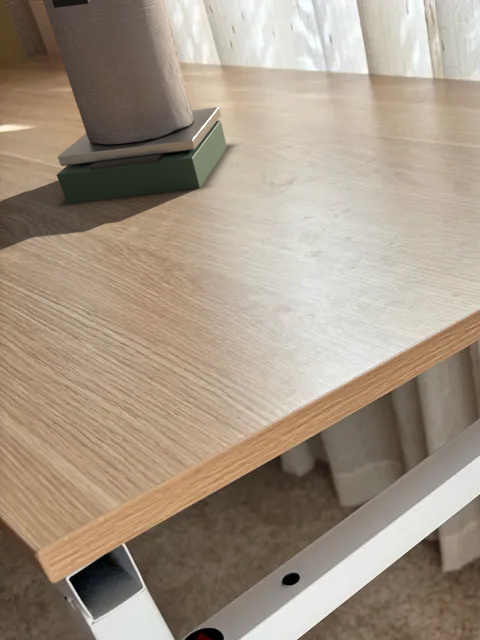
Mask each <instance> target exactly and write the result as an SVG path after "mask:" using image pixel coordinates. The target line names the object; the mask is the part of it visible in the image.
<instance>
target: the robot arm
mask: <svg viewBox="0 0 480 640" xmlns="http://www.w3.org/2000/svg"><path fill="white" fill-rule="evenodd" d="M52 2H53V5H54V8H59V7H67V6H75V5H83V4H89V3H91V0H52Z"/></svg>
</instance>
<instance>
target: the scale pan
mask: <svg viewBox="0 0 480 640" xmlns="http://www.w3.org/2000/svg"><path fill="white" fill-rule="evenodd" d="M220 110H221V109H220V107H219V106H217V107H216V106H215V107H207V108H199V109H192V114H193V122H192V124H190V125H189V126H186V127H184V128H181V129H178V130H175V131H173V132H171V133H169V134H167V135H163V136H161V137H158V138H154V139H147V140H144V141H136V142H130V143H123V144H99V143H92V142H90V141H89V139H88V137H87V134H86V133H84V134H83V135H82V136H81V137H79V139H77V140H76V141H75V142H73V143H72V144H71V145H70V146H69V147H68V148H66V149H65V150H63V152H61V153H60V154H59V155H58V156H57V160H58V162H59V165H60V166H61V167H66V166H67V165H74V164H82V163H90V162H99V161H107V160H115V159H123V158H131V157H139V156H147V155H156V154H164V153H172V152H180V151H188V150H195V148H196V147H197V146H198V145H199V143H200V142H201V141H202V139H203V138H204V137H205V135H206V134H207V133H208V132H209V130H210V129H211V128H212V126H213V125H214V124H215V122H216V121H219V120H220V119H219V118H220V117H221V116H222V114H221V111H220Z"/></svg>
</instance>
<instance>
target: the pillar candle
mask: <svg viewBox="0 0 480 640" xmlns="http://www.w3.org/2000/svg"><path fill="white" fill-rule="evenodd" d="M42 2H43V6H44V8H45V11H46V14H47V17H48V21H49V24H50V27H51V30H52V33H53V37H54V39H55V43H56V45H57V49H58V51H59V55H60V57H61V60H62V64H63V68H64V70H65V73H66V76H67V79H68V82H69V85H70V88H71V91H72V95H73V98H74V101H75V103H76V106H77V109H78V112H79V115H80V118H81V121H82V124H83V127H84V130H85V134H87V137H88V139H89V141H90V142H92V143H99V144H123V143H130V142H136V141H144V140H147V139H154V138H158V137H161V136H163V135H167V134H169V133H171V132H173V131H175V130H178V129H181V128H184V127H186V126H189V125H190V124H192V122H193V114H192V110H193V109H192V106H191V101H190V98H189V94H188V91H187V86H186V83H185V78H184V75H183V71H182V67H181V66H182V65H181V62H180V58H179V54H178V51H177V50H178V49H177V47H176V42H175V38H174V34H173V30H172V26H171V23H170V19H169V15H168V12H167V8H166V5H165V0H91V3H89V4H83V5H75V6H67V7H59V8H54V5H53V2H52V0H42Z"/></svg>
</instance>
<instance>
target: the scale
mask: <svg viewBox="0 0 480 640" xmlns="http://www.w3.org/2000/svg"><path fill="white" fill-rule="evenodd" d="M225 137H226V136H225V134H224V129H223V125H222V120H220V119H218V120H217V121H216V122H215V124H214V125H213V126H212V128H211V129H210V130H209V132H208V133H207V134H206V135H205V137H204V138H203V139H202V141H201V142H200V143H199V145H198V146H197V147H196V148H195V150H188V151H180V152H172V153H164V154H156V155H147V156H139V157H131V158H123V159H115V160H107V161H99V162H90V163H82V164H74V165H66V166H64V168H62V169H61V170H60V171H59V172H58V173H56V179H57V180H58V183H59V186H60V189H61V191H62V193H63V197H64V199H65V202H66V204H67V205H70V204H78V203H86V202H87V203H88V202H95V201H102V200H104V201H105V200H112V199H118V198H119V199H120V198H129V197H137V196H144V195H145V196H146V195H153V194H162V193H170V192H171V193H172V192H179V191H187V190H196V189H201V187H202V186H203V184H204V183H205V181H206V180H207V178H208V176H209V175H210V174H211V172H212V170H213V169H214V168H215V166H216V165H217V163H218V162H219V160H220V159H221V157H222V155H223V154H224V153H225V151H226V149H227V148H228V146H227V141H226V138H225Z"/></svg>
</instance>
